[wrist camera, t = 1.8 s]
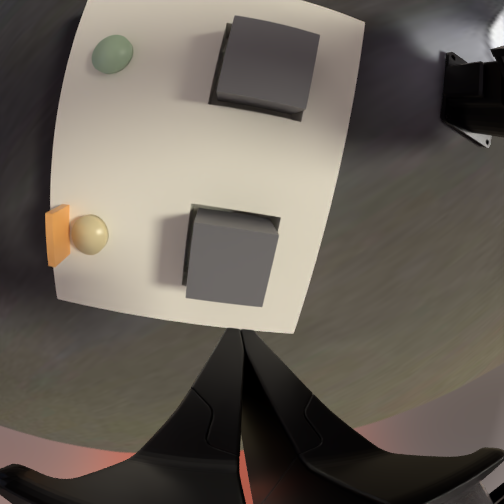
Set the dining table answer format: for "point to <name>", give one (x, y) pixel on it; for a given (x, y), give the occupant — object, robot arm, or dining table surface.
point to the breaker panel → (189, 156)
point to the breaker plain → (268, 65)
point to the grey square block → (230, 257)
